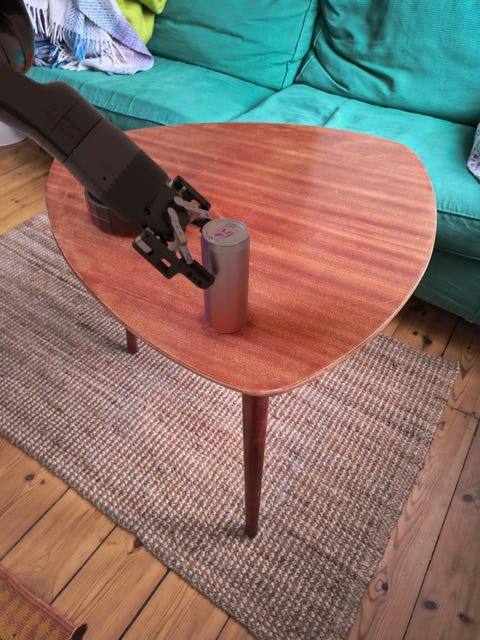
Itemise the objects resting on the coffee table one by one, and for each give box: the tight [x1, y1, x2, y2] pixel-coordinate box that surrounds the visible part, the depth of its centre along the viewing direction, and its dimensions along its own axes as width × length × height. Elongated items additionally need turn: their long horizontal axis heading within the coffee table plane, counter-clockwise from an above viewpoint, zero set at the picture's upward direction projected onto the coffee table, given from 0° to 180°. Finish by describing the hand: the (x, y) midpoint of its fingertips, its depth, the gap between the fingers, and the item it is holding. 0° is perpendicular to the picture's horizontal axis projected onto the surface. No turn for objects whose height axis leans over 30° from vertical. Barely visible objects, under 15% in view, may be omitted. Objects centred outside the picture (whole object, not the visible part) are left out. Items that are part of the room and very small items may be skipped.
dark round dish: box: [83, 175, 173, 236], centre depth 84 cm, size 15×15×6 cm
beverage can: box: [200, 217, 251, 334], centre depth 61 cm, size 6×6×15 cm
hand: (218, 263), depth 60 cm, fingers open, 8 cm apart
